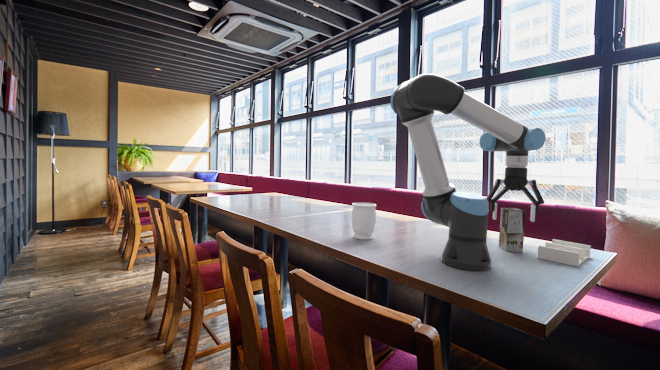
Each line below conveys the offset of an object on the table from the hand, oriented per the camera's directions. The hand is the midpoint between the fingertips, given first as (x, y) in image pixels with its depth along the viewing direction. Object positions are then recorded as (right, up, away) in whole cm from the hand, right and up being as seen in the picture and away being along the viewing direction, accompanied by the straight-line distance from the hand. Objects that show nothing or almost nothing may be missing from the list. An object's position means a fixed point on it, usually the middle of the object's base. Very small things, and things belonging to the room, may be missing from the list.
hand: (513, 220), depth 128 cm
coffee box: (-1, -12, +1) cm, 12 cm away
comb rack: (+13, -13, -10) cm, 21 cm away
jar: (-59, -9, +12) cm, 61 cm away
